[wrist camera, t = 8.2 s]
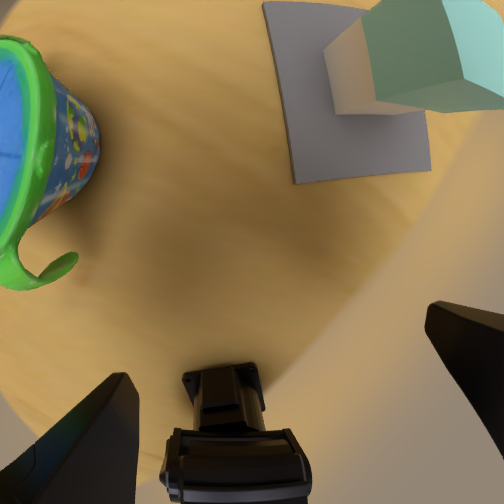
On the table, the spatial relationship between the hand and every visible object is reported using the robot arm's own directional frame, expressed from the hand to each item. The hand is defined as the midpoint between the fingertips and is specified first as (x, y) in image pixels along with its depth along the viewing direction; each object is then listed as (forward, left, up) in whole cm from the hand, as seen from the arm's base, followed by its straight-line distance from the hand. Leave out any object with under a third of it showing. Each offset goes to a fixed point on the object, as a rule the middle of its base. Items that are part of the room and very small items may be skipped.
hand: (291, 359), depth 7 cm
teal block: (+10, -10, -6) cm, 15 cm away
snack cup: (+9, +12, -13) cm, 20 cm away
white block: (+10, -10, -12) cm, 19 cm away
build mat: (+10, -10, -13) cm, 19 cm away
